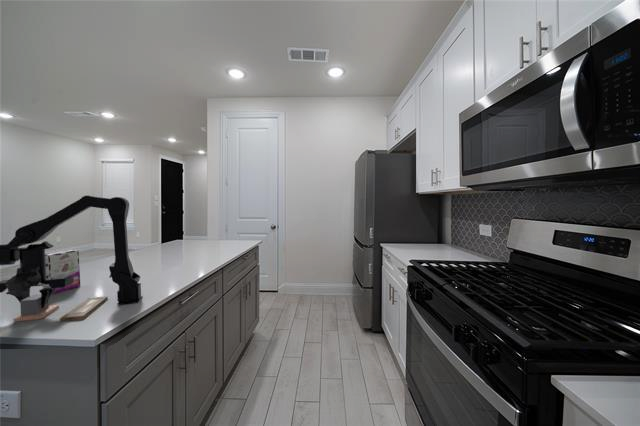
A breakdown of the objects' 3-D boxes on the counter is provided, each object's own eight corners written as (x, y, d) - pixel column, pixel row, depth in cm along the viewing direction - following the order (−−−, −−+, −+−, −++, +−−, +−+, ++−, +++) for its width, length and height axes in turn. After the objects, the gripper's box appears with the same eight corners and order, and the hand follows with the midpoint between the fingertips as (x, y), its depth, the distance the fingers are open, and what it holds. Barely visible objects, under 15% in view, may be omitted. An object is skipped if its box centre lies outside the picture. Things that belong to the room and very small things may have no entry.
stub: (58, 307, 94) (58, 291, 93) (42, 318, 85) (41, 300, 85) (33, 310, 91) (32, 293, 91) (13, 321, 83) (12, 303, 83)
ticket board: (107, 299, 102) (107, 296, 102) (83, 319, 85) (83, 315, 85) (88, 301, 100) (88, 297, 100) (60, 321, 83) (60, 317, 83)
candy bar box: (72, 285, 118) (70, 249, 118) (80, 286, 117) (79, 249, 117) (41, 293, 107) (39, 254, 107) (50, 294, 106) (49, 254, 106)
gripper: (-28, 271, 77) (-25, 323, 77) (53, 266, 83) (55, 314, 83) (2, 262, 87) (5, 308, 88) (73, 258, 93) (75, 302, 94)
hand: (35, 308), depth 88 cm, fingers closed on stub, 4 cm apart
